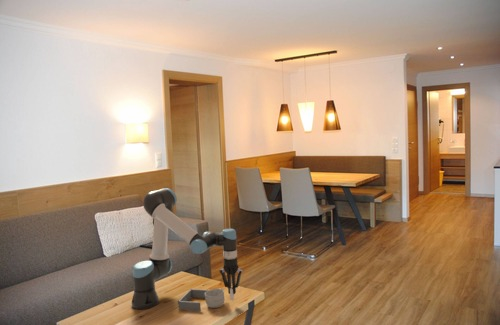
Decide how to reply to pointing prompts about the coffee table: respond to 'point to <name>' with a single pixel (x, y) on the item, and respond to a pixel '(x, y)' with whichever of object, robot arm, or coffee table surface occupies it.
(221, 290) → the teacup
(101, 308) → the coffee table surface
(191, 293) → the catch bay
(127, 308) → the coffee table surface
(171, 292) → the coffee table surface
